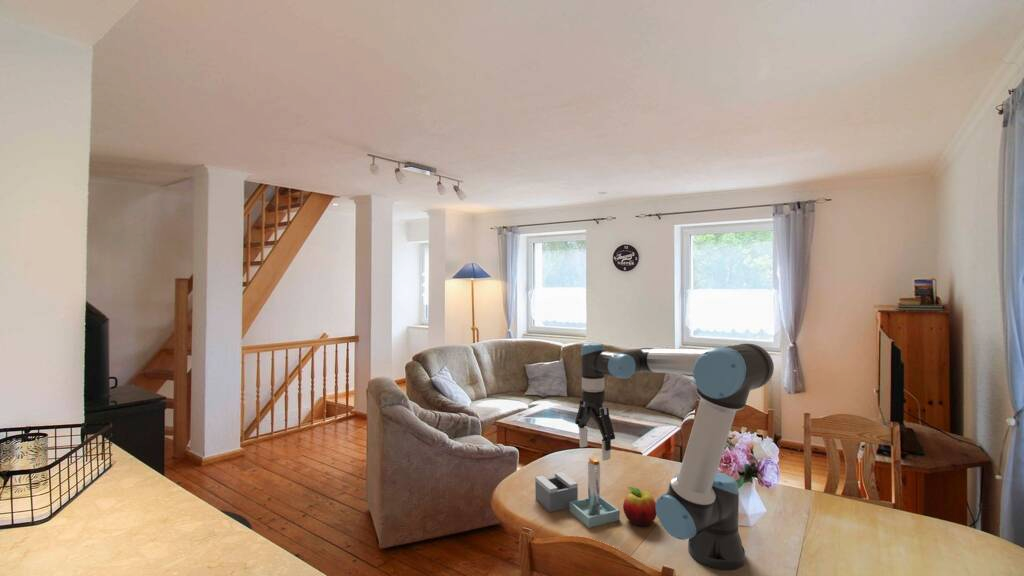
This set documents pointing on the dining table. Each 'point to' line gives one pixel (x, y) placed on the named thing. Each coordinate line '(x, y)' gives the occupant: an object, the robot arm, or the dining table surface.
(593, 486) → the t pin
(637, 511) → the fruit
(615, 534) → the dining table surface
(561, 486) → the block
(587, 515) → the tray
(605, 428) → the robot arm
